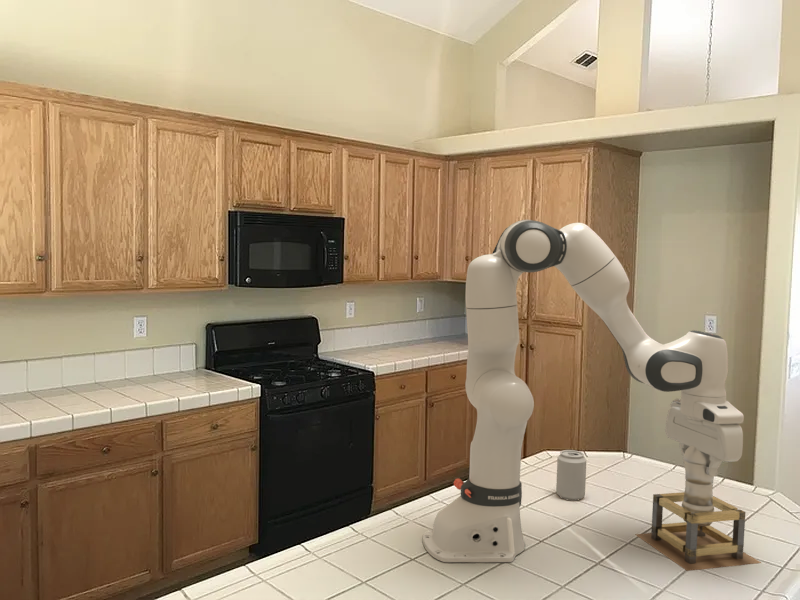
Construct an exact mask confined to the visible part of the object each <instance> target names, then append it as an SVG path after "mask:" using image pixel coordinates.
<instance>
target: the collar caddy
mask: <svg viewBox="0 0 800 600" xmlns="http://www.w3.org/2000/svg"><path fill="white" fill-rule="evenodd" d="M684 492H685V491H684ZM684 492H681V491H680V492H668V493H655V494H653V495H652V497H653V498H652V515H651V532H650V533H651V538H652V539H653V540H655V541H658V540H661V538H662V539H664V540H665V541H667V542H668V543H670V544H671V545H673V546H674V547H676V548H677V549H679V550H680V551H682V552H685V561H686V562H687V563H689V564H695V563H696V556H704V555H714V554H724V553H732V557H734V558H736V559H743V552H744V544H745V542H744V541H745V529H746V528H745V527H746V511H744V510H743V509H738V507H736V506H734V505H733V504H730V503H728V502H726V501H725V500H722V499H720V498H718V497H716V496H714V495H713V506H714V508H716V509H718V511H714V512H704V513H691V512H690V511H688V510H687V509H685V508H683V507H681V506H682V505H679V504H678V503H682V502H683V500H684ZM663 508H664V509H666V510H667V511H669V512H671V513H672V514H675V516H678V517H679V518H681V519H682V520H683V519H684V520H685V519H687V522H685V521H684V520H683V522H681V521H680V522H673V523H671V522H670V523H663V513H664V512H663V510H664V509H663ZM719 510H720V511H719ZM727 521H728V522H729V521H733V525H732V526H733V527H732V536H729V535H728V534H726V533H724V532H722V531H720V530H718V529H717V528H715V527H714V526H712V525H709V526H698V523H706V522H712V523H716V522H718V523H719V522H727ZM675 532H686V542H684V541H683V540H681V539H680V538H678V537H677V536H675V535H673V534H672V533H675ZM705 534H707V535H709V536H711V537H712V538H714V539H716V540H717V541H719V542H721V543H720V544H709V545H699V546H697V535H698V536H699V537H702V536H705Z"/></svg>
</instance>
